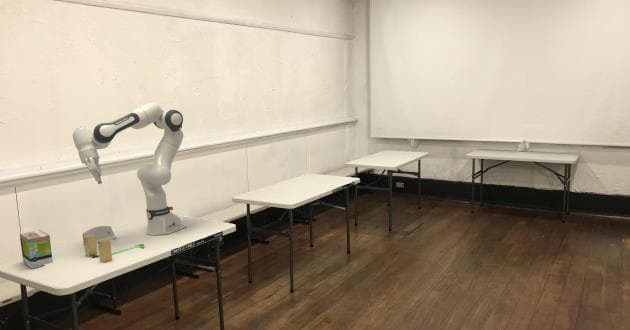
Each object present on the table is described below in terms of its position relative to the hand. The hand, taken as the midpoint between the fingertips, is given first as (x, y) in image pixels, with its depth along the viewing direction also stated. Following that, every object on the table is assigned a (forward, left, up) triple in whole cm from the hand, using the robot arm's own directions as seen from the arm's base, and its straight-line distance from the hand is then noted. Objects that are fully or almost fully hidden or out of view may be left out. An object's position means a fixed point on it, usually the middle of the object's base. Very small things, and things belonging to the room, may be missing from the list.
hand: (99, 182), depth 262 cm
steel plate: (+11, +14, -36) cm, 40 cm away
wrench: (-1, +14, -36) cm, 38 cm away
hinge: (-4, -14, -36) cm, 39 cm away
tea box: (+30, -10, -36) cm, 48 cm away
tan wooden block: (+11, +20, -35) cm, 41 cm away
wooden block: (+11, +6, -35) cm, 37 cm away
